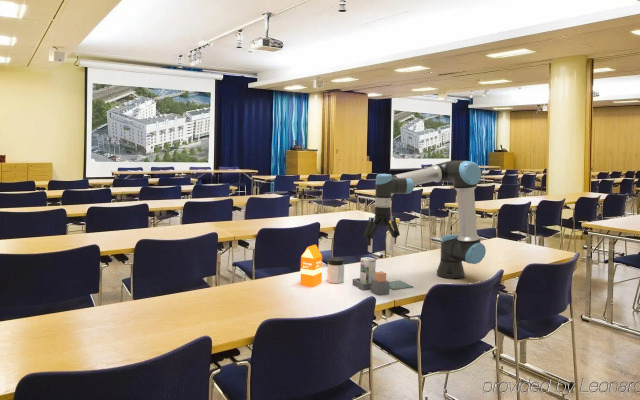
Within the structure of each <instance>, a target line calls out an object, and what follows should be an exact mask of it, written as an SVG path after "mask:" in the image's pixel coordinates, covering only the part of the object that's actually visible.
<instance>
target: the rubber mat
mask: <svg viewBox="0 0 640 400" xmlns="http://www.w3.org/2000/svg"><path fill="white" fill-rule="evenodd" d="M411 288H414V285H412V284H409V283H407V282H404V281H402V280H401V279H400V280H399V279H398V280H391V281H390V280H389V290H393V291H395V290H404V289H405V290H406V289H411Z"/></svg>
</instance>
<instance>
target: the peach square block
mask: <svg viewBox="0 0 640 400" xmlns="http://www.w3.org/2000/svg"><path fill="white" fill-rule="evenodd" d="M375 281H377V282H386V281H387V272H384V271H375Z"/></svg>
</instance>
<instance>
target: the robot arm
mask: <svg viewBox="0 0 640 400" xmlns="http://www.w3.org/2000/svg"><path fill="white" fill-rule="evenodd" d="M481 177H482V171H481V167H480V166H479V165H478V164H477V163H476V162H474V161H468V160H448V161H443V162H439V163H437V164H433V165H431V166H430V167H426V168H422V169H421V168H420V169H417V170H412V171H407V172H402V173H397V174H394V175H393V174H391V173H389V174H388V173H378V174H376V177H375V197H374V198H375V199H374V206H375V207H374V217H371V216H369V217H368V222H367V225H366V227H365V231H364V233H363V235H362V236H363V238H366V245H367V252H369V253H371V254H372V253H373V240H374V239H373V236H374V235H375V233H376V231H377V230H378V228H380V227H386V229H387V231H388V232H389V234H390V235H391V236H390V237H389V238H390V239H389V240H390V241H389V251H391V252H395V246H396V244H397V238H398V237H399V236H401V234H400V231H399V227H398V224H397V216H394V215H393V216H391V212H392V209H391V205H392V195H396V194H397V195H400V194H401V195H402V194H403V195H404V194H405V195H407V194H411V193H412V192H413V191H414V187H415V186H418V185H423V184H427V183H432V182H434V183H441V182H446V183H453V189H454V190H455V191H456V194H457V195H456V198H457V199H456V200H457V211H458V226H459V234H445V235H443V236H442V237H441V241H440V260H439V264H438V267H437V269H436V276H437V275H438V276H437V277H439V276H441V277H440V278H443V277H445V278H444V279H448V278H461V279H464V278H465V277H464V276H465V274H466V273H465V269H464V266H463V262H464V263H466V264H472V265H476V264H479V263H480V262H482V261H483V259H484V258H485V255H486V252H487V249H486V246H485V245H484V243H482V242H481V237H480V236H479V234H478V233H477V231H478V230H477V215H476V202H475V201H476V199H475V190H476V188H477V187H478V183H480V180H481ZM463 277H464V278H463Z"/></svg>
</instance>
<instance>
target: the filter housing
mask: <svg viewBox="0 0 640 400" xmlns="http://www.w3.org/2000/svg"><path fill="white" fill-rule="evenodd" d="M389 282H390V280H389V281H388V280H386V282H377V281H375V279H374V280H372V281H371V283H367V284H364V283H362V282H360V277H358V278H352V285H353V286H354V287H356V288H358V289H360V290H361V291H370V292H371V293H373V294H375V295H376V296H382V295H383V296H384V295H389V294H390V288H389Z"/></svg>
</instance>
